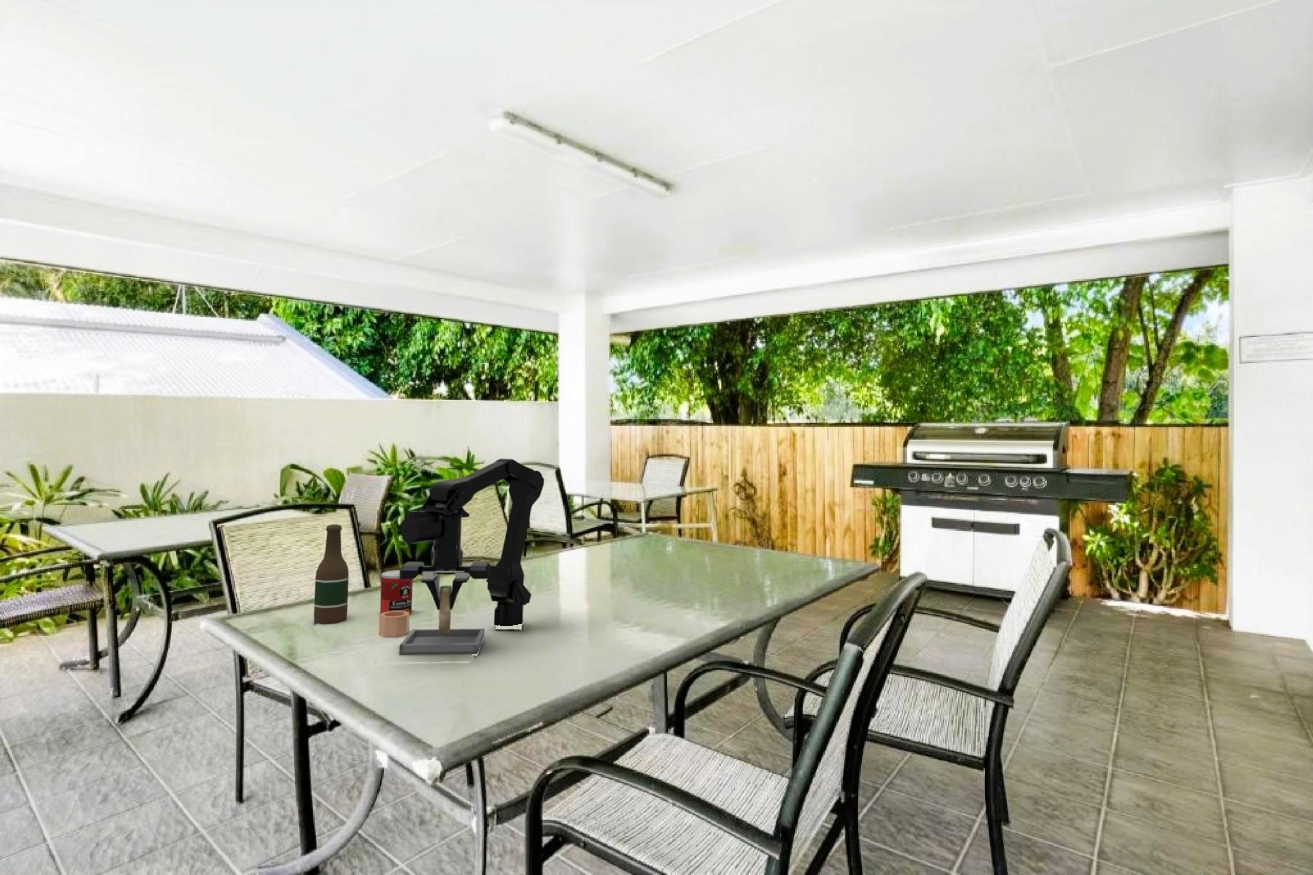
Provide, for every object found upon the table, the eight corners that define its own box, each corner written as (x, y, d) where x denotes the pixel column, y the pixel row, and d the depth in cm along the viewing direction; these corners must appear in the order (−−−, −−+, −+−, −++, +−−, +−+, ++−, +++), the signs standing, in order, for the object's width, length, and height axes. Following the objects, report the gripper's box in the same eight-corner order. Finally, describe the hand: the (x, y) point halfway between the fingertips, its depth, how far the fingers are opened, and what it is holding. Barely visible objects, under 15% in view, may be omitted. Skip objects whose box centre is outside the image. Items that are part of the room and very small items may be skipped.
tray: (484, 639, 151) (484, 628, 151) (477, 656, 139) (477, 644, 139) (412, 640, 149) (412, 629, 149) (399, 657, 137) (399, 645, 137)
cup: (410, 631, 155) (411, 610, 155) (404, 638, 149) (405, 617, 149) (383, 631, 154) (384, 610, 155) (376, 639, 148) (377, 617, 149)
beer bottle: (338, 626, 157) (341, 527, 158) (306, 625, 157) (310, 526, 158) (353, 618, 165) (357, 523, 165) (323, 617, 165) (326, 522, 166)
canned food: (390, 621, 164) (392, 577, 164) (373, 615, 169) (375, 572, 169) (417, 615, 170) (419, 573, 170) (400, 610, 175) (402, 569, 175)
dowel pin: (450, 632, 145) (452, 585, 145) (448, 635, 143) (450, 587, 143) (439, 632, 145) (441, 585, 145) (437, 635, 143) (439, 587, 143)
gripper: (494, 534, 153) (492, 600, 153) (412, 533, 151) (409, 600, 151) (489, 541, 142) (486, 612, 142) (400, 540, 140) (397, 613, 140)
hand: (445, 609), depth 144 cm, fingers closed on dowel pin, 2 cm apart
